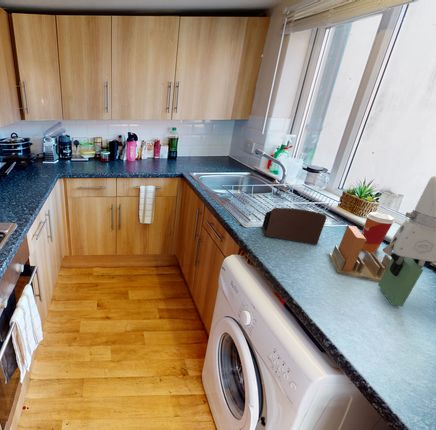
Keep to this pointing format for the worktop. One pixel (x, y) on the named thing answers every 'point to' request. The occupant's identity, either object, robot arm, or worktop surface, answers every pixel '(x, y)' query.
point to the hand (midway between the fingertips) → (400, 274)
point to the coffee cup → (375, 230)
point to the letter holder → (294, 224)
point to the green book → (400, 281)
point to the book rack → (361, 265)
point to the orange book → (351, 246)
